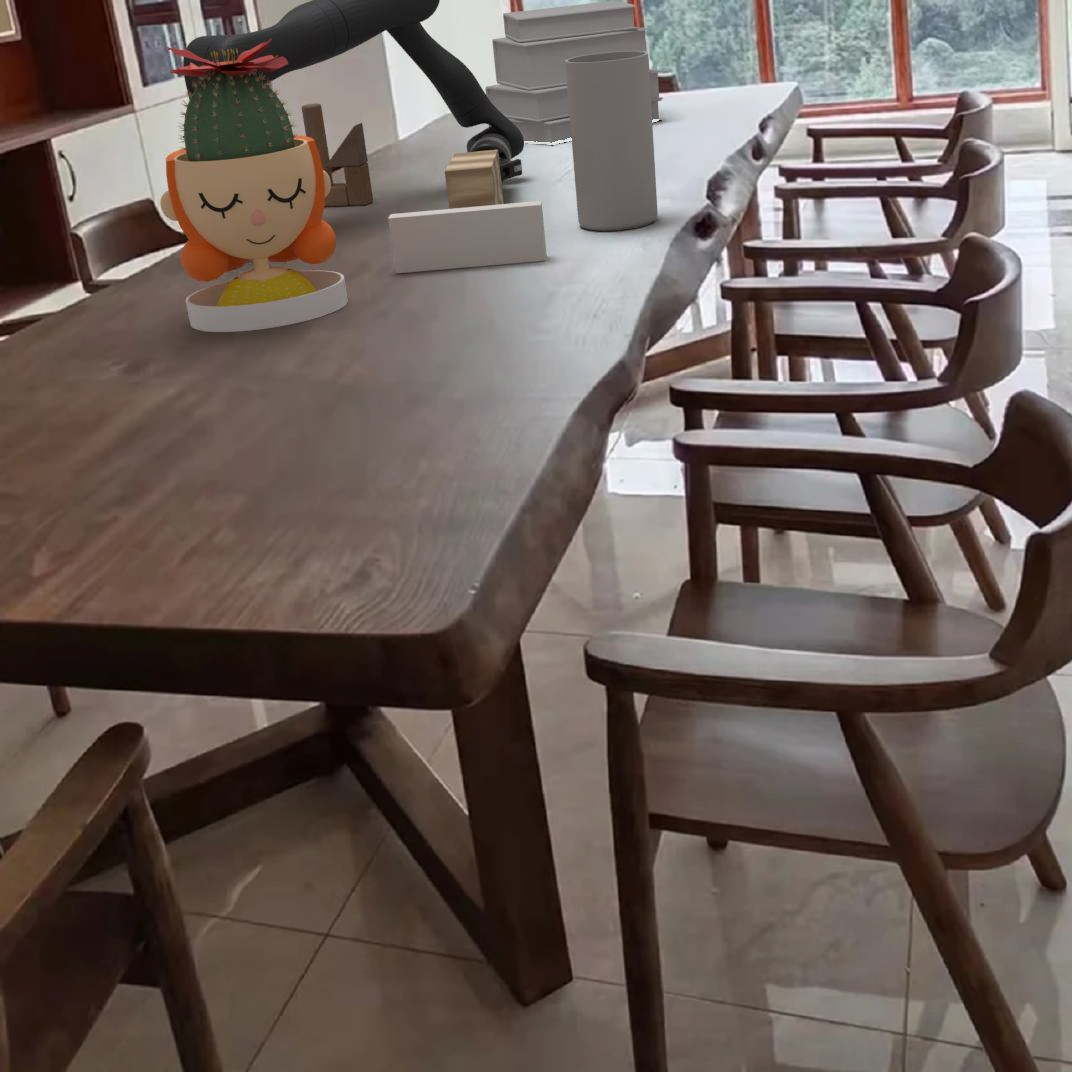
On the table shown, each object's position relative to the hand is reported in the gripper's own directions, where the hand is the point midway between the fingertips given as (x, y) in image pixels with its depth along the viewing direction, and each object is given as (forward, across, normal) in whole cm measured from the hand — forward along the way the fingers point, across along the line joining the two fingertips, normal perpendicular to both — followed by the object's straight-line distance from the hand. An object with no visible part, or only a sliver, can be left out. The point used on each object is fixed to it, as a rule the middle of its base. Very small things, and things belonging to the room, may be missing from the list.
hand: (481, 179), depth 228 cm
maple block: (+12, 0, +7) cm, 14 cm away
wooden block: (-26, -28, +7) cm, 39 cm away
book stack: (-90, +14, +7) cm, 92 cm away
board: (+31, 0, +6) cm, 31 cm away
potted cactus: (+46, -27, +7) cm, 54 cm away
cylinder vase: (+11, +22, +7) cm, 25 cm away
